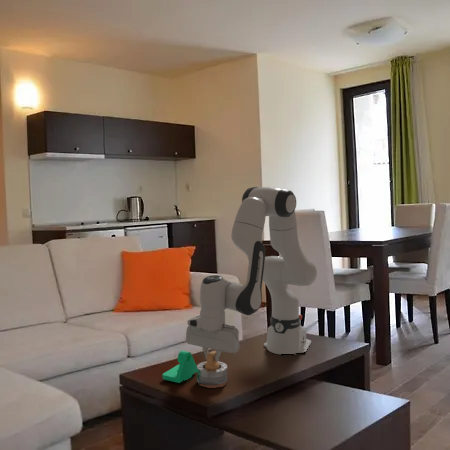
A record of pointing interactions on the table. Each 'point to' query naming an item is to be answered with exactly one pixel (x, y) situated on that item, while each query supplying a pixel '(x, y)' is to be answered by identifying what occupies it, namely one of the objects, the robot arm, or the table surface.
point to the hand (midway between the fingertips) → (212, 360)
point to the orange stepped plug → (211, 362)
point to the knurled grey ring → (211, 374)
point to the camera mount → (182, 368)
